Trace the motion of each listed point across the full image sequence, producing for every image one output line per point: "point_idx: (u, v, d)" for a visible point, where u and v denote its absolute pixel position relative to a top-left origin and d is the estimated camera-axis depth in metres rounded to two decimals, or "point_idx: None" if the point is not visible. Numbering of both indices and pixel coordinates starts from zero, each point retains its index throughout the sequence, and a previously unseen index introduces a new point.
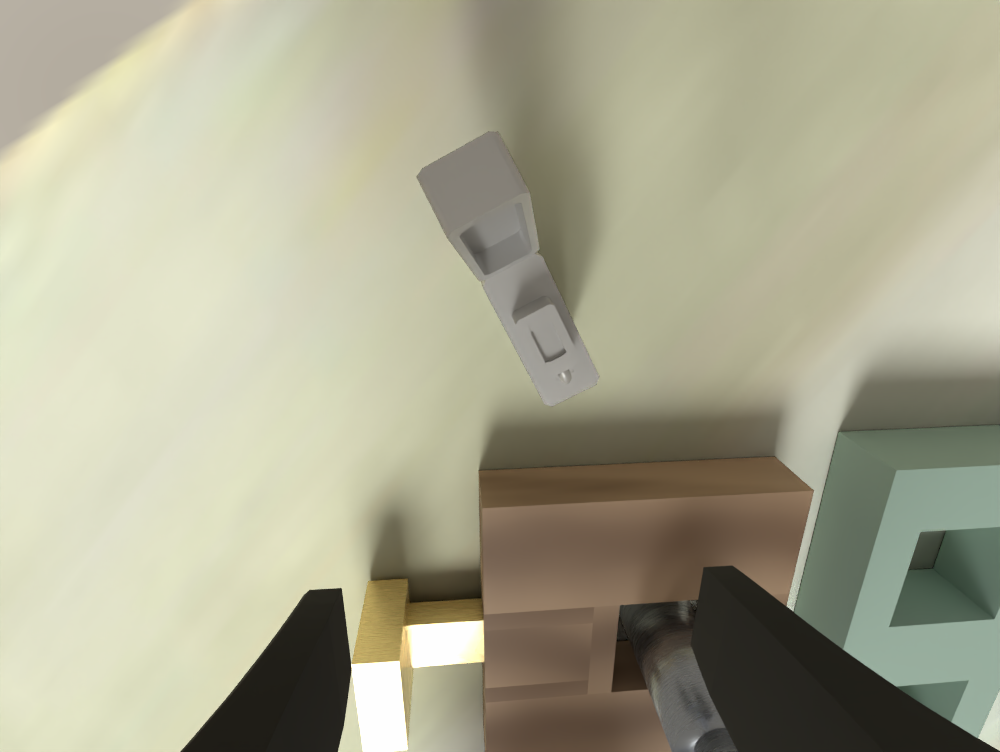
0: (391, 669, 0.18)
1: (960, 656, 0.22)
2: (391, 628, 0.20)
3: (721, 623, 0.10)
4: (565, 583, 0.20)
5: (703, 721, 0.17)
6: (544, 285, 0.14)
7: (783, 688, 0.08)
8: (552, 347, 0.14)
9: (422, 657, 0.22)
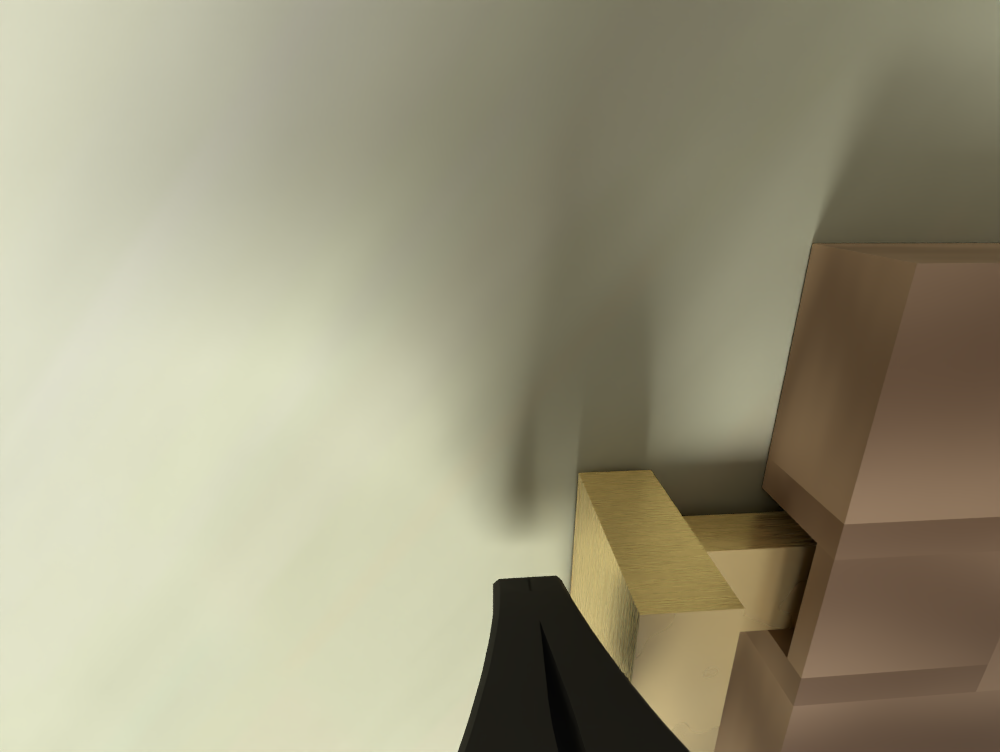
0: (722, 627, 0.08)
1: None
2: (679, 546, 0.09)
3: None
4: None
5: None
6: None
7: (557, 706, 0.08)
8: None
9: None
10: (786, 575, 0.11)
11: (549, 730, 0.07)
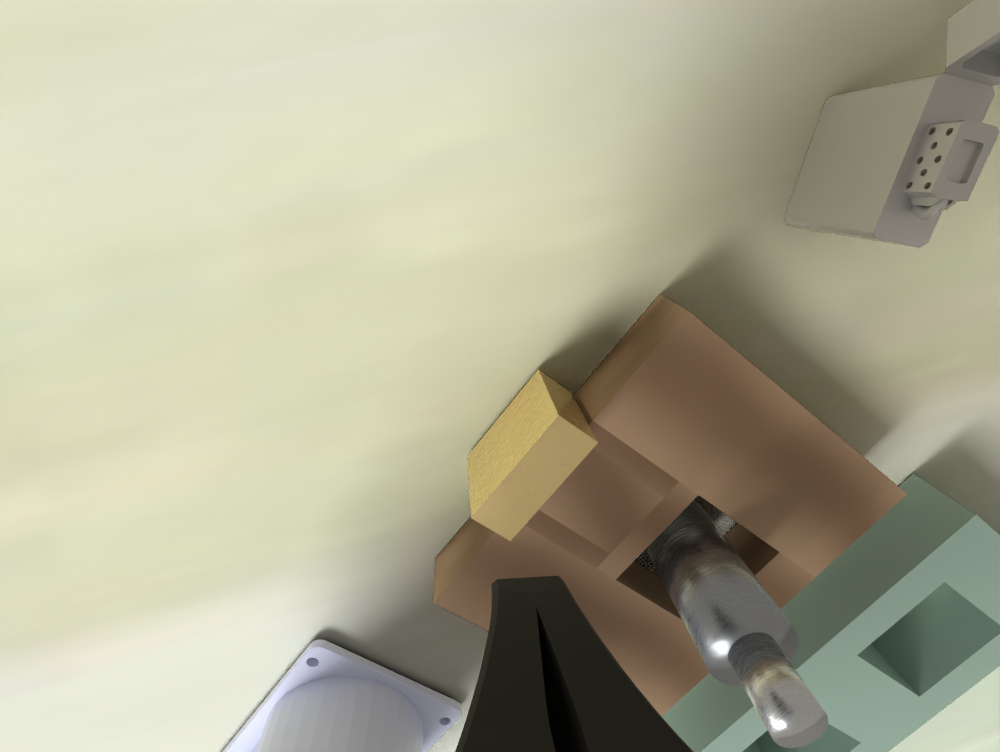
0: (583, 446, 0.16)
1: (874, 716, 0.24)
2: (578, 415, 0.18)
3: None
4: (680, 440, 0.19)
5: (765, 619, 0.17)
6: (973, 121, 0.14)
7: (559, 706, 0.08)
8: (957, 171, 0.14)
9: None
10: None
11: (547, 730, 0.07)
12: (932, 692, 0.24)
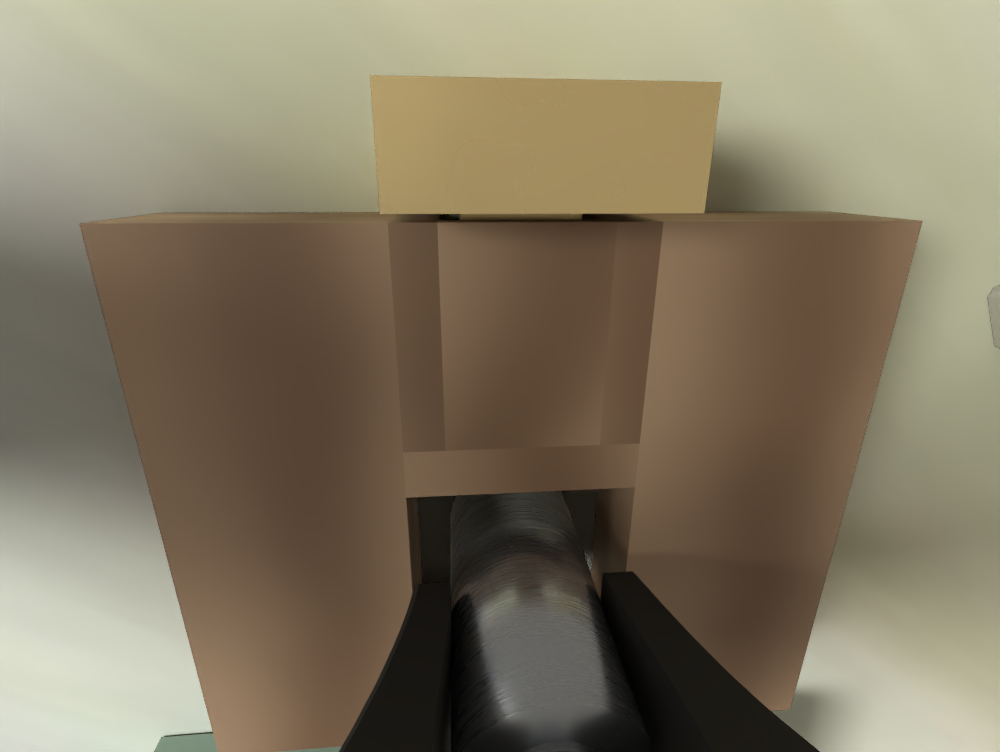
0: (682, 191, 0.07)
1: None
2: None
3: (613, 630, 0.10)
4: (707, 386, 0.10)
5: (636, 742, 0.08)
6: None
7: (655, 698, 0.08)
8: None
9: None
10: None
11: (429, 740, 0.07)
12: None
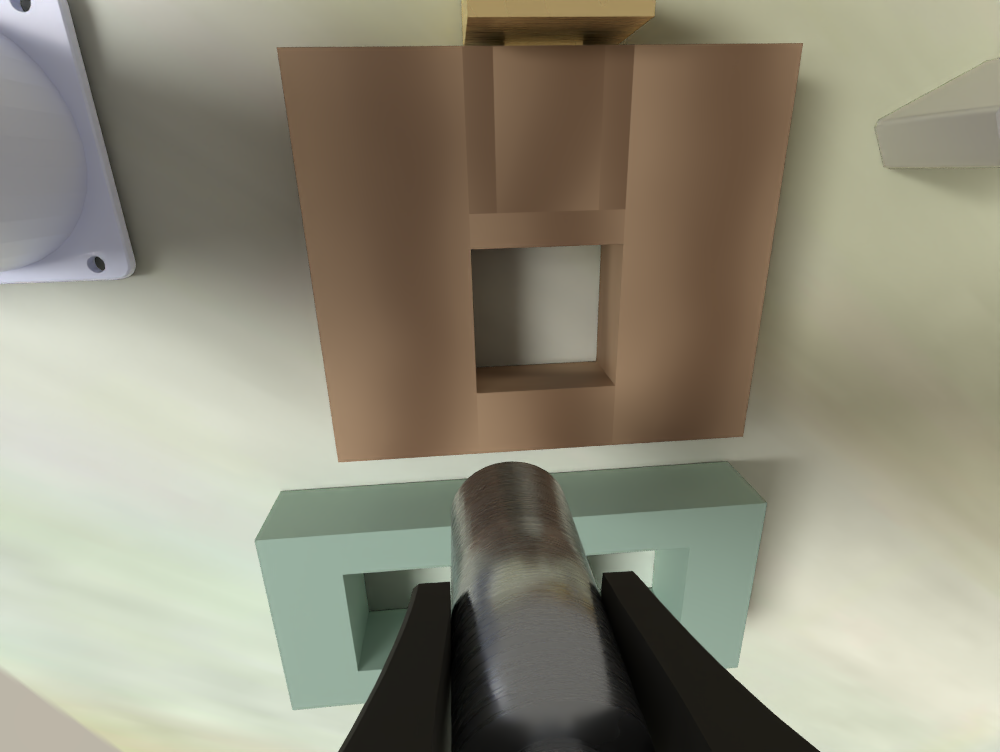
0: (640, 2, 0.12)
1: None
2: None
3: (613, 630, 0.10)
4: (669, 166, 0.15)
5: (638, 741, 0.08)
6: None
7: (655, 698, 0.08)
8: None
9: None
10: None
11: (428, 740, 0.07)
12: None
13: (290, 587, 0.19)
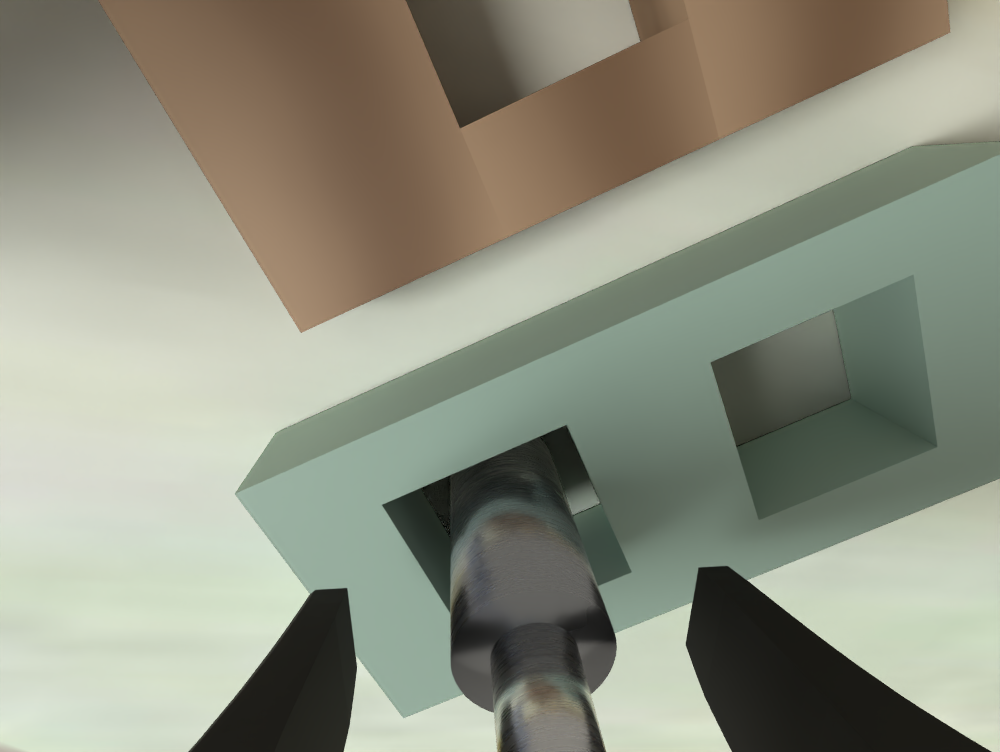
0: None
1: (676, 524, 0.13)
2: None
3: (715, 623, 0.10)
4: None
5: (602, 629, 0.10)
6: None
7: (776, 689, 0.08)
8: None
9: None
10: None
11: None
12: (780, 521, 0.13)
13: (317, 548, 0.12)
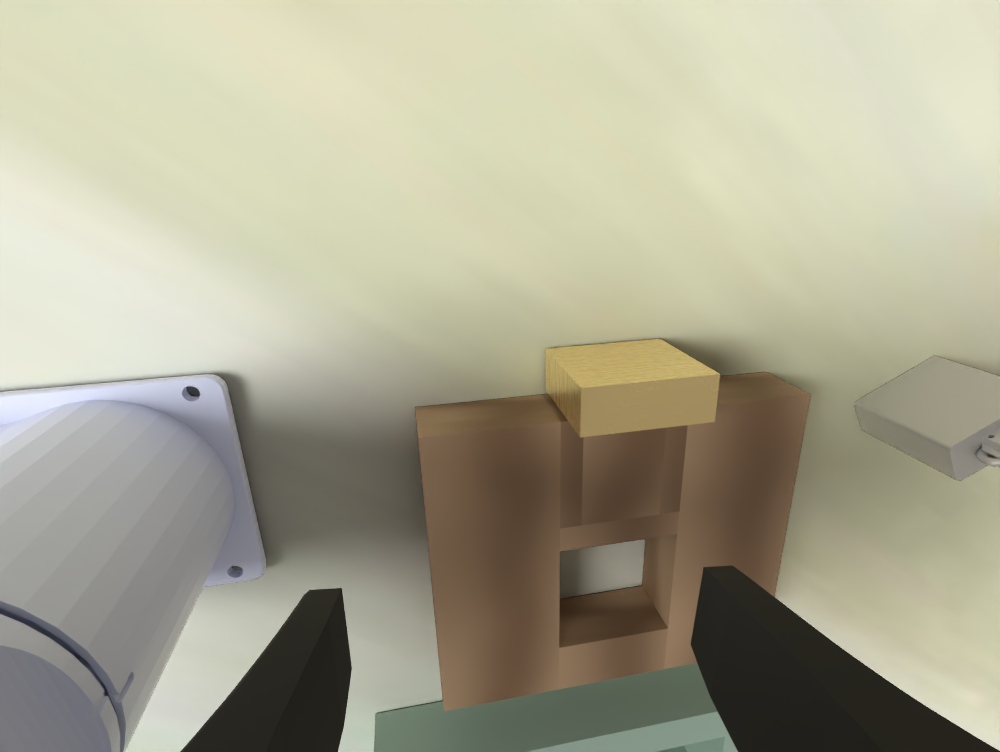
0: (705, 414, 0.17)
1: None
2: None
3: (721, 623, 0.10)
4: (712, 480, 0.20)
5: None
6: None
7: (783, 688, 0.08)
8: None
9: None
10: None
11: None
12: None
13: None
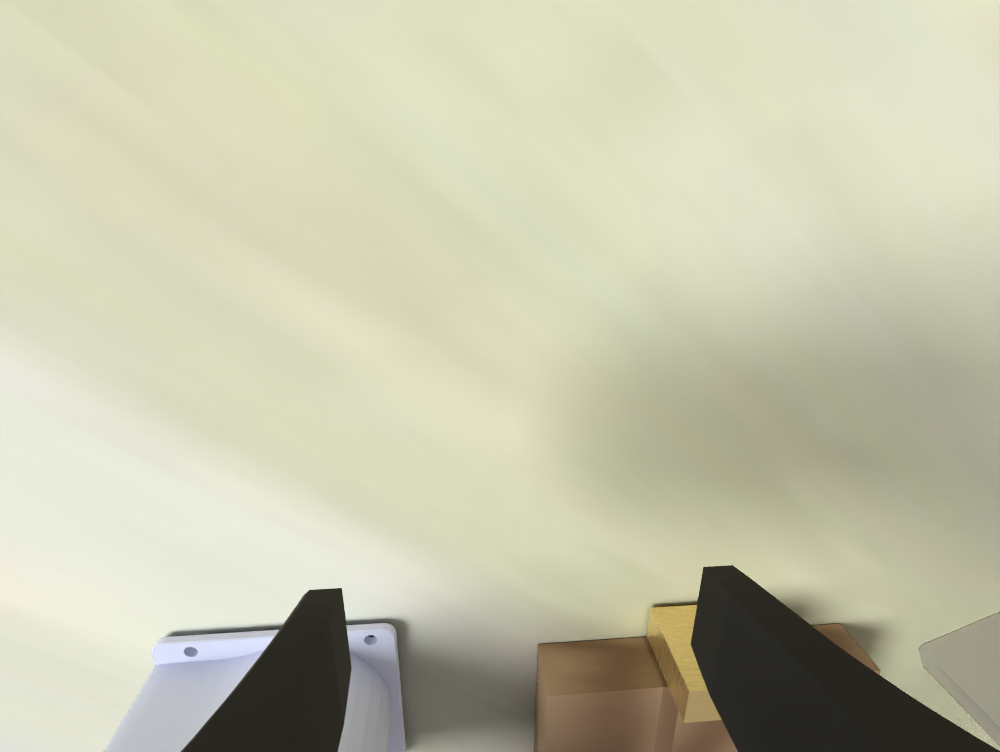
0: None
1: None
2: None
3: (721, 623, 0.10)
4: None
5: None
6: None
7: (783, 688, 0.08)
8: None
9: None
10: None
11: None
12: None
13: None
